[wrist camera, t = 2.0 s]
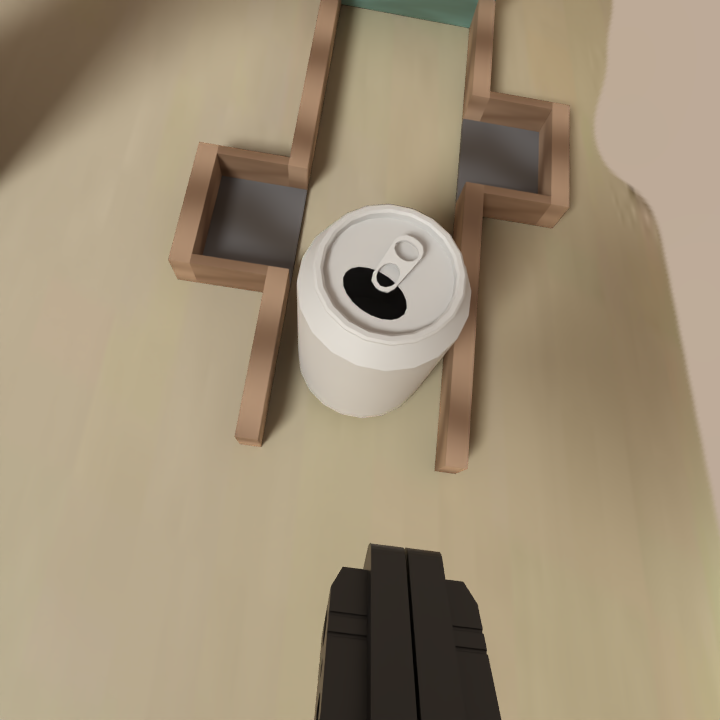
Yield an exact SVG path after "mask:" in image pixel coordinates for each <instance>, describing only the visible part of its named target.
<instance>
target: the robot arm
mask: <svg viewBox="0 0 720 720" xmlns="http://www.w3.org/2000/svg"><path fill="white" fill-rule="evenodd" d="M486 651H487V648H486V643H485V638H484V634H482V624H481V619H480V614H479V609H478V604H477V603H476V601H475V600H474V598H473V596H472V595H471V593H470V592H469V590H468V589H467V587H466V585H465V584H464V582H461V581H453V580H445V574H444V568H443V561H442V556H441V554H440V552H434V551H426V550H419V549H411V548H405V549H404V548H402V547H394V546H386V545H378V544H371V543H370V544H369V546H368V550H367V554H366V559H365V563H364V568H363V569H356V568H348V567H342V569H341V571H340V572H339V574H338V575H337V577H336V579H335V580H334V582H333V584H332V585H331V589H330V594H329V600H328V605H327V611H326V616H325V622H324V627H323V633H322V642H321V653H320V664H319V674H318V686H317V696H316V707H315V718H314V720H501V716H500V711H499V706H498V701H497V697H496V692H495V687H494V682H493V677H492V672H491V668H490V663H489V658H488V655H487V653H486Z"/></svg>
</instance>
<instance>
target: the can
mask: <svg viewBox="0 0 720 720" xmlns="http://www.w3.org/2000/svg"><path fill="white" fill-rule="evenodd" d="M470 299H471V287H470V283H469V278H468V274H467V270H466V266H465V265H464V261H463V256H462V253H461V252H460V250H459V248H458V247H457V245H456V243H455V241H454V240H453V238H452V236H451V235H450V234H449V233H448V232H447V231H446V230H445V229H444V228H443V227H442V226H441V225H439V224H438V223H437V222H436V221H435V220H434V219H432V218H430V217H428V216H427V215H425V214H423V213H421V212H419V211H417V210H415V209H413V208H408V207H403V206H398V205H393V204H381V205H367V206H364V207H362V208H359V209H356V210H354V211H351V212H348V213H346V214H345V215H343V216H342V217H341V218H340V219H338V220H337V221H335V222H334V223H332V224H331V225H330V226H329V227H327V228H326V229H325V230H323V231H322V232H321V233H320V234H318V235H317V236H316V237H315V239H314V240H313V242H312V243H311V245H310V246H309V248H308V250H307V251H306V253H305V254H304V256H303V257H302V261H301V266H300V270H299V274H298V279H297V313H298V353H299V362H300V370H301V374H302V376H303V378H304V380H305V382H306V384H307V386H308V388H309V390H310V391H311V392H312V393H313V394H314V395H315V396H316V397H317V398H318V399H319V400H320V401H321V402H322V404H324V405H325V406H327V407H329V408H331V409H333V410H335V411H337V412H338V413H340V414H343V415H349V416H354V417H359V418H365V417H373V416H381V415H384V414H386V413H388V412H390V411H392V410H394V409H396V408H399V407H400V406H401V405H402V404H403V403H404V402H405V401H406V400H407V399H408V398H410V397H411V396H412V395H413V394H414V392H415V391H416V390H417V389H418V387H419V386H420V385H421V384H422V382H423V381H424V380H425V379H426V377H427V376H428V375H429V374H430V372H431V371H432V370H433V369H434V367H435V366H436V365H437V364H438V362H439V361H440V360H441V359H442V357H443V356H444V355H445V354H446V352H447V351H448V350H449V349H450V347H451V346H452V345H453V343H454V342H455V341H456V340H457V338H458V336H459V334H460V332H461V330H462V328H463V326H464V324H465V322H466V320H467V318H468V316H469V308H470Z"/></svg>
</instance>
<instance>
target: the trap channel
mask: <svg viewBox="0 0 720 720" xmlns="http://www.w3.org/2000/svg"><path fill="white" fill-rule="evenodd" d="M495 1H496V0H321V2H320V7H319V12H318V17H317V22H316V27H315V32H314V37H313V42H312V47H311V52H310V57H309V62H308V67H307V73H306V78H305V83H304V88H303V93H302V98H301V103H300V108H299V113H298V118H297V123H296V128H295V133H294V138H293V143H292V148H291V154H290V157H285V156H279V155H274V154H268V153H262V152H256V151H250V150H244V149H238V148H232V147H226V146H220V145H215V144H209V143H203V142H199V145H198V149H197V152H196V156H195V160H194V164H193V168H192V171H191V175H190V179H189V183H188V186H187V190H186V194H185V198H184V202H183V205H182V209H181V213H180V217H179V221H178V224H177V228H176V232H175V236H174V239H173V243H172V247H171V251H170V255H169V258H168V260H169V262H170V264H171V266H172V268H173V270H174V272H175V274H176V276H177V279H180V280H187V281H193V282H200V283H206V284H212V285H219V286H225V287H232V288H238V289H245V290H251V291H258V292H263V295H262V300H261V305H260V310H259V315H258V321H257V326H256V331H255V336H254V341H253V346H252V351H251V356H250V361H249V366H248V371H247V376H246V381H245V386H244V391H243V396H242V401H241V407H240V412H239V417H238V422H237V427H236V432H235V438H236V439H237V441H238V442H239V443H240V444H244V445H251V446H258V447H261V445H262V439H263V434H264V428H265V423H266V417H267V412H268V406H269V401H270V395H271V390H272V384H273V379H274V373H275V368H276V362H277V356H278V351H279V345H280V340H281V334H282V329H283V323H284V318H285V312H286V307H287V301H288V296H289V290H290V285H291V279H292V274H293V268H294V262H295V257H296V251H297V246H298V240H299V235H300V229H301V224H302V218H303V213H304V207H305V202H306V196H307V191H308V185H309V180H310V174H311V169H312V163H313V157H314V152H315V146H316V141H317V135H318V130H319V124H320V119H321V113H322V108H323V102H324V97H325V91H326V86H327V80H328V75H329V69H330V63H331V58H332V52H333V47H334V41H335V36H336V30H337V25H338V19H339V14H340V8H341V4H344V5H350V6H355V7H360V8H366V9H371V10H376V11H382V12H387V13H392V14H398V15H403V16H408V17H414V18H419V19H424V20H430V21H435V22H441V23H446V24H451V25H457V26H462V27H467V28H469V40H468V53H467V65H466V78H465V91H464V104H463V116H462V129H461V142H460V154H459V167H458V180H457V193H456V205H455V218H454V231H453V240H454V241H455V243H456V245H457V247H458V248H459V250H460V252H461V253H462V256H463V261H464V265H465V266H466V270H467V274H468V278H469V283H470V287H471V299H470V308H469V316H468V318H467V320H466V322H465V324H464V326H463V328H462V330H461V332H460V334H459V336H458V338H457V340H456V341H455V342H454V343H453V345H452V346H451V347H450V349H449V350H448V351H447V352H446V354H445V355H444V358H443V371H442V383H441V396H440V409H439V422H438V434H437V447H436V460H435V471H439V472H446V473H454V474H456V473H458V472H461V471H463V470H466V469H468V452H469V436H470V419H471V402H472V385H473V369H474V352H475V335H476V318H477V302H478V285H479V268H480V251H481V235H482V218H483V217H488V218H494V219H500V220H506V221H512V222H518V223H524V224H530V225H536V226H542V227H548V228H553V227H554V225H555V224H556V223H557V222H558V221H559V219H560V218H561V217H562V216H563V214H564V213H565V212H566V211H567V210H568V208H569V105H564V104H559V103H553V102H548V101H542V100H537V99H531V98H525V97H520V96H514V95H509V94H503V93H498V92H492V91H490V84H491V67H492V51H493V34H494V17H495Z"/></svg>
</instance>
